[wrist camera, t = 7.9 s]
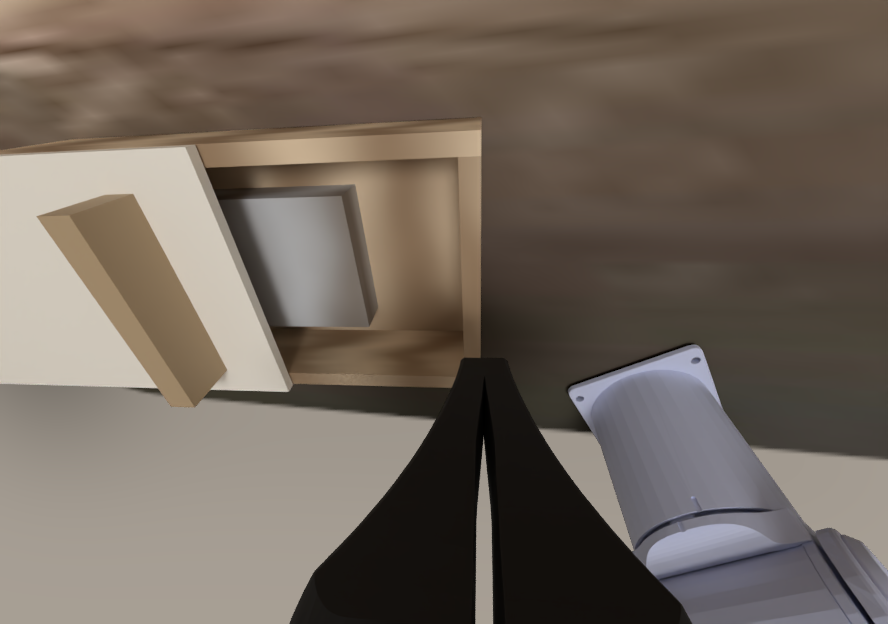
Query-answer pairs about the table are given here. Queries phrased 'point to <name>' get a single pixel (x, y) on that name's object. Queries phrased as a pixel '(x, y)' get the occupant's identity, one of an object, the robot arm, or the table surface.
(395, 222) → the mailer box
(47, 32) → the table surface
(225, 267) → the mailer lid
